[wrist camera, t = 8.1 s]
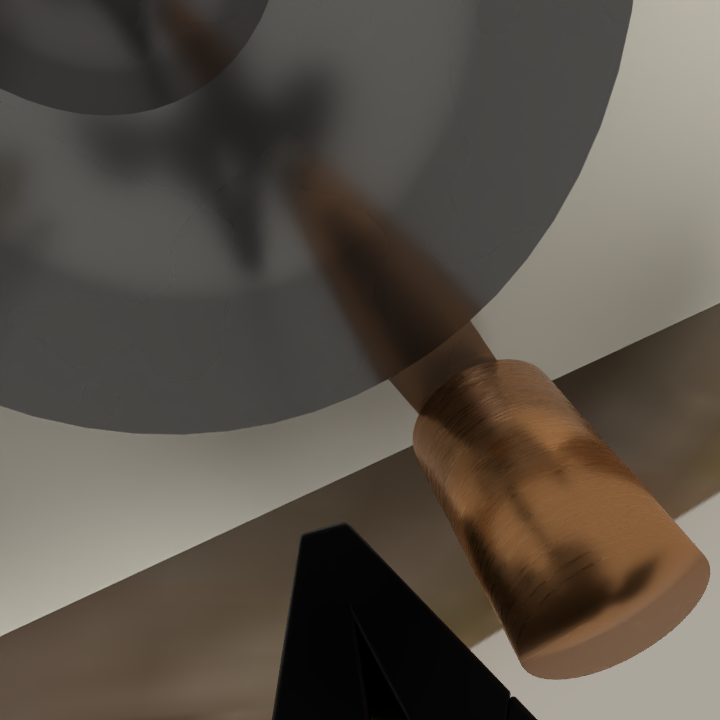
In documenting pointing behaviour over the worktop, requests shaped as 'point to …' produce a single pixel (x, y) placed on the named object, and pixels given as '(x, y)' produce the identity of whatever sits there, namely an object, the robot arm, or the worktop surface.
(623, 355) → the worktop surface
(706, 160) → the stand
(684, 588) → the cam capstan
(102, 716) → the worktop surface
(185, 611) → the worktop surface
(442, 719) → the robot arm
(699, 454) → the worktop surface
